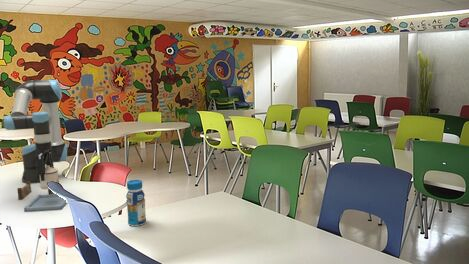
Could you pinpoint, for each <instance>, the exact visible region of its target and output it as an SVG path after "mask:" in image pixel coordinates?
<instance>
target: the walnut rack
mask: <svg viewBox="0 0 469 264" xmlns="http://www.w3.org/2000/svg"><path fill="white" fill-rule="evenodd" d="M58 182H59V183H60V180H59V179H58ZM31 184H32V183H30V181H27V182H26V183H25V185H24V186H23V187H18V188H16V189H17V196H18V201H19V200H20V201H21V200H23V199H24V198H26V197H27V196H28V195H29V194H30V193H32V185H31ZM47 192H48V193H47V195H53V194H54V193H53V192H52V191H51V190H50V189H47Z"/></svg>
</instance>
